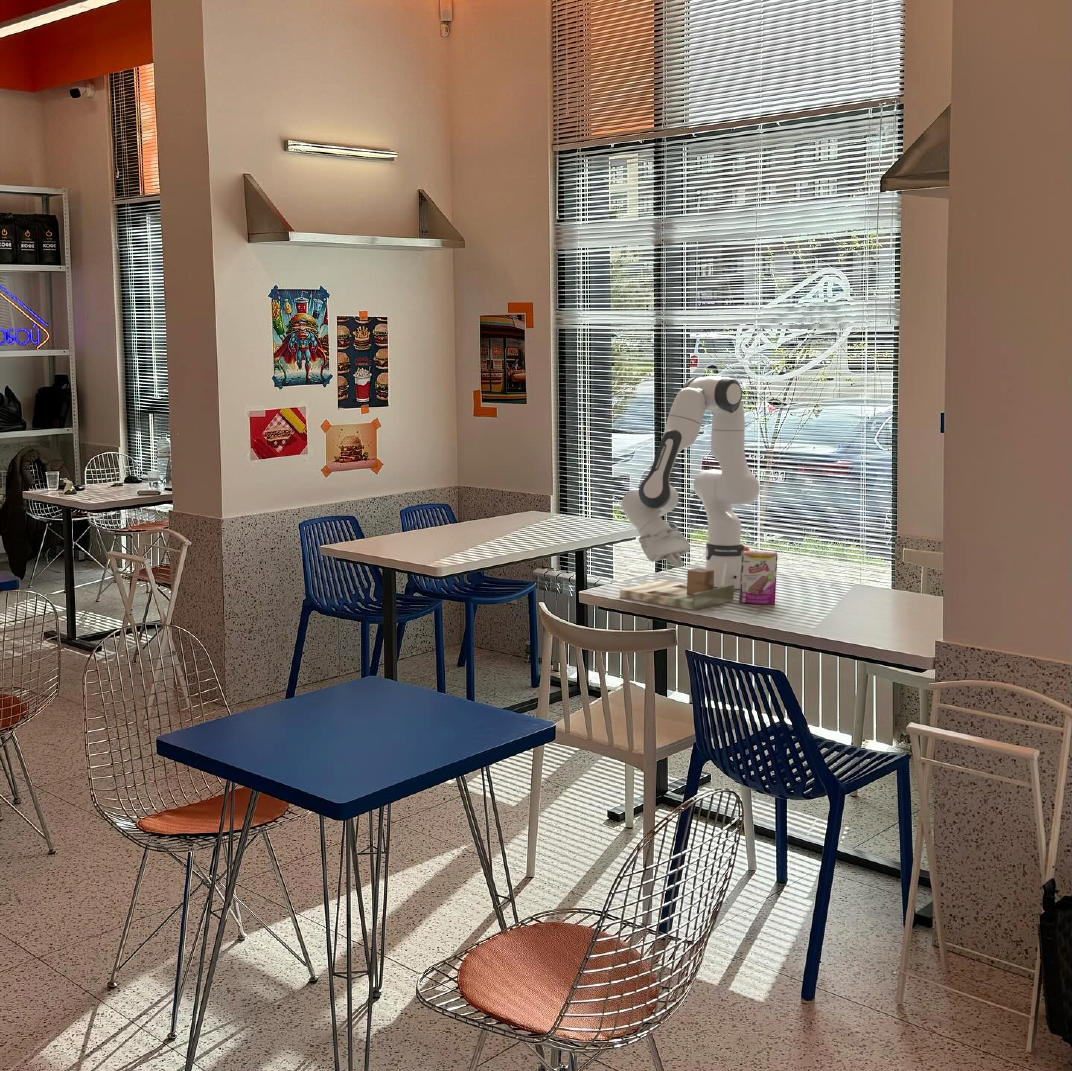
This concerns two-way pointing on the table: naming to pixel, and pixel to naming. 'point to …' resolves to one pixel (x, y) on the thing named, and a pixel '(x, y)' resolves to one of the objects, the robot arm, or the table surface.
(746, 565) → the candy bar box
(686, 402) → the robot arm
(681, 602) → the trap deck
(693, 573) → the walnut block
